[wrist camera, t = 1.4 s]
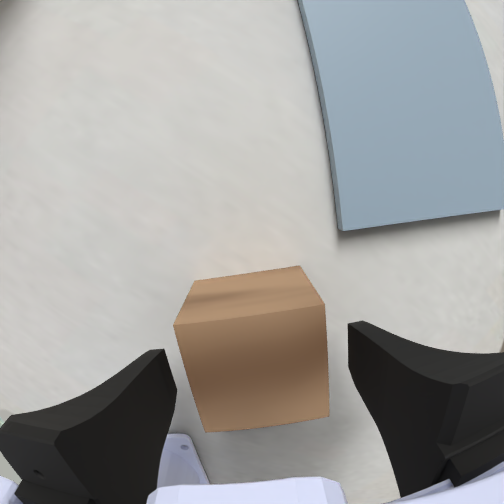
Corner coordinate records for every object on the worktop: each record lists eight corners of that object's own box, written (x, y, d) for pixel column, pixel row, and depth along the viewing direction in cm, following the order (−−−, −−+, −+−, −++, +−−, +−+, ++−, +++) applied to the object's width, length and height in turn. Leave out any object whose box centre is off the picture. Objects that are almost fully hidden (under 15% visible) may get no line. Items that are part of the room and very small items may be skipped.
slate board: (500, 207, 14) (509, 208, 14) (337, 228, 14) (343, 231, 14) (454, -4, 11) (460, -8, 11) (289, -27, 11) (291, -35, 11)
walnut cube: (307, 355, 16) (329, 416, 11) (214, 368, 16) (205, 432, 11) (299, 265, 15) (324, 303, 10) (194, 280, 15) (173, 325, 10)
